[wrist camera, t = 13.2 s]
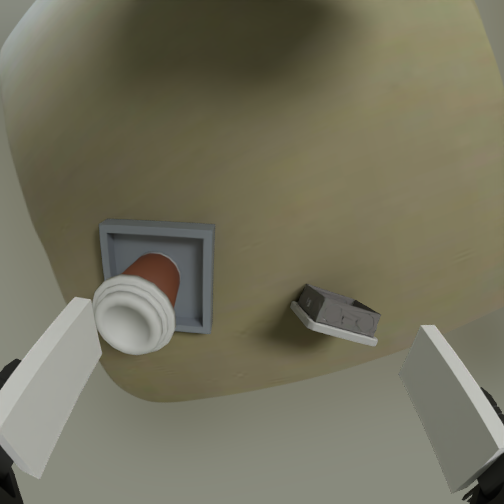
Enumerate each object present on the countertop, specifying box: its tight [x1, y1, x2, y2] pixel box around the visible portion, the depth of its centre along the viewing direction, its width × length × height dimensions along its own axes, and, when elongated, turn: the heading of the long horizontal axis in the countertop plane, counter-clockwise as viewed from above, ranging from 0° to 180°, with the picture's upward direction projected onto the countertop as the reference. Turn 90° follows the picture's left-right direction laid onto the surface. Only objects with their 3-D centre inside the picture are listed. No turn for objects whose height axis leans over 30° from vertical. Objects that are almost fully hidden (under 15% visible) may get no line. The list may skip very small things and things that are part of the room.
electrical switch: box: [290, 284, 381, 346], centre depth 36 cm, size 9×5×9 cm, turn 69°
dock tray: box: [99, 219, 215, 334], centre depth 38 cm, size 14×14×2 cm
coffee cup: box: [92, 251, 181, 355], centre depth 33 cm, size 9×9×12 cm
